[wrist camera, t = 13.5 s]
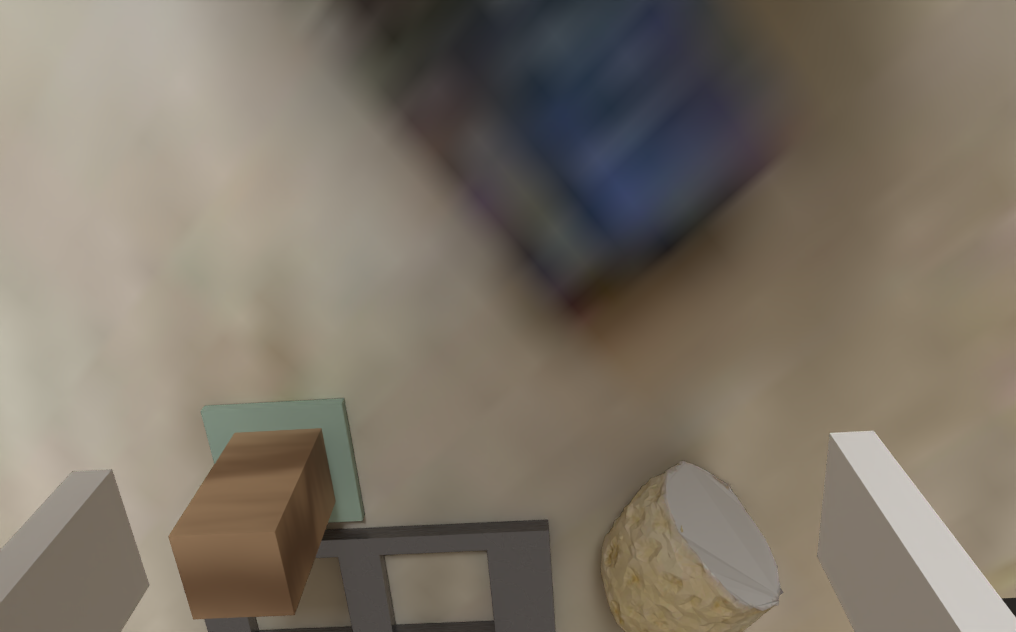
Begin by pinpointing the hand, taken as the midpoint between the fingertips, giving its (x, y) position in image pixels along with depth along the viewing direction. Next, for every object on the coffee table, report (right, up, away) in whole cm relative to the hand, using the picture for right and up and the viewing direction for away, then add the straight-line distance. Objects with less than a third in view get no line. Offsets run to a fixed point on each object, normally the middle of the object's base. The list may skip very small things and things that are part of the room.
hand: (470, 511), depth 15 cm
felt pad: (-12, -5, +31) cm, 34 cm away
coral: (+10, -8, +33) cm, 35 cm away
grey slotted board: (-8, -13, +35) cm, 38 cm away
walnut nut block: (-12, -5, +31) cm, 34 cm away
